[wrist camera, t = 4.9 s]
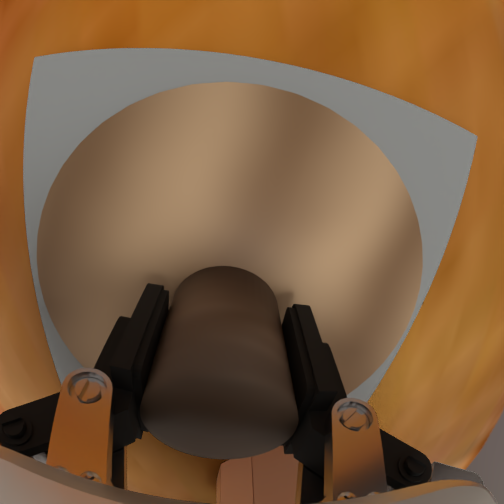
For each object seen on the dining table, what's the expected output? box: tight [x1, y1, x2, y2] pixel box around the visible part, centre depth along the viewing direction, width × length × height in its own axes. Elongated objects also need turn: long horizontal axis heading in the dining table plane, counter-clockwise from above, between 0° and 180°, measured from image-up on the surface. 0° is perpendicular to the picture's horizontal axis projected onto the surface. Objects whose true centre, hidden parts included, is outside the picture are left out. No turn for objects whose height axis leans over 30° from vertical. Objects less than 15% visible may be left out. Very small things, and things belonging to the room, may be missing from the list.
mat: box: [23, 48, 477, 403], centre depth 12 cm, size 18×18×1 cm
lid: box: [37, 82, 423, 459], centre depth 9 cm, size 16×16×6 cm
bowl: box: [216, 446, 299, 504], centre depth 17 cm, size 13×13×6 cm
